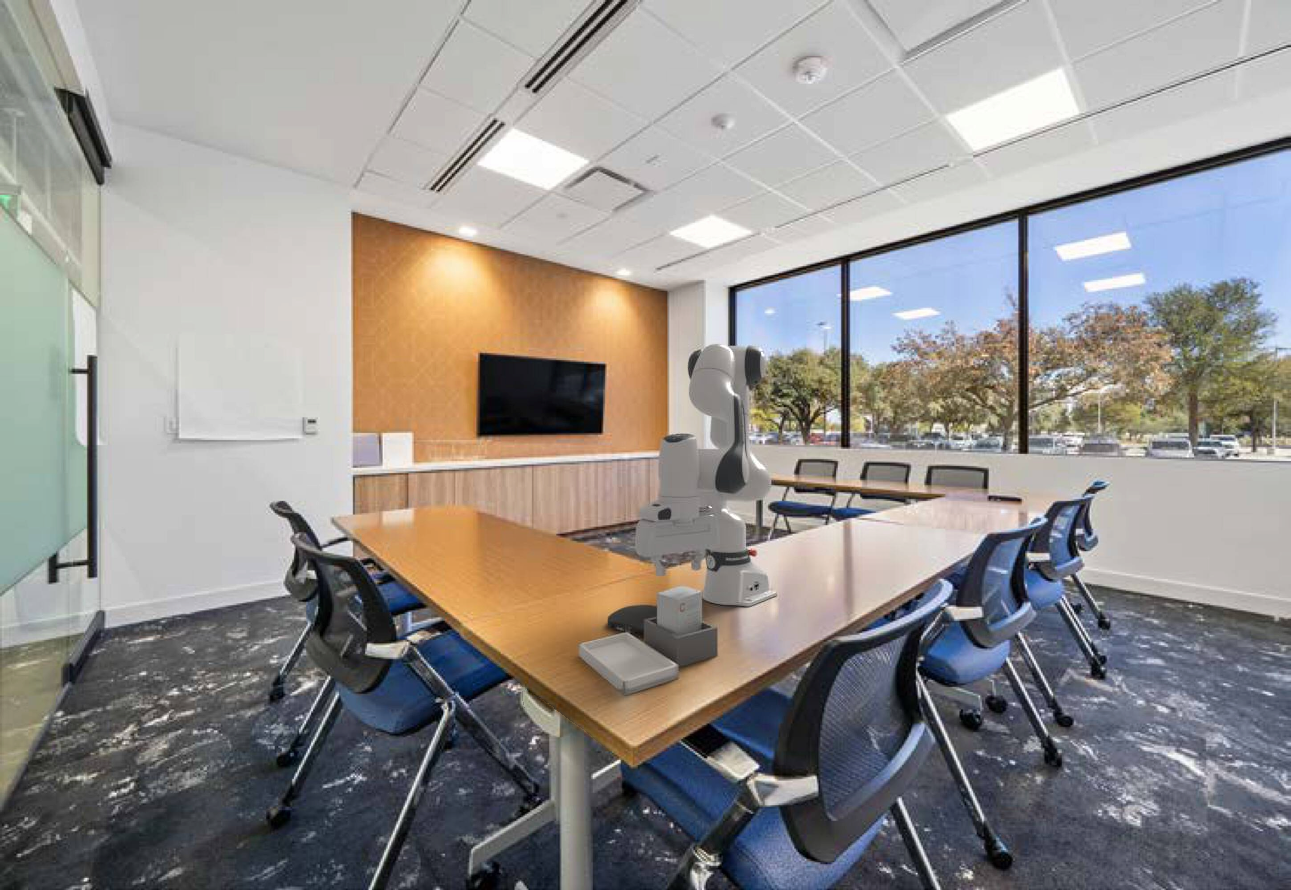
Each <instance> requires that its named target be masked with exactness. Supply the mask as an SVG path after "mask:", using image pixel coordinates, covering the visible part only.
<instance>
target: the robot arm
mask: <svg viewBox="0 0 1291 890" xmlns="http://www.w3.org/2000/svg"><path fill="white" fill-rule="evenodd" d="M767 365H768V363H767V358H766V355H765V352H764V351H763V349H762V348H761V347H759V346H754V345H748V346H745V345H744V346H741V345H724V344H721V343H714V344H713V343H712V344H708V345H707V346H705V347H704V348H701V349H697V350H695V351H693V352H692V353H691V354H690V355H689V357H688V362H687V373H688V377H689V380H690V381H689V387H688V396H689V399H690V402H691V404H692V405H693V407H694V408H695V409H697V410H698V411H699V412H700V413H701V414H704V415H705V416H708V417H710V432H709V433H710V434H709V439H710V441H711V443H712V445H713V446H715V448H711V449H710V448H699V447H698V441H697V437H696V435H694V434H692V433H674V434H669V435H665V436H664V437H663V438H661V442H660V446H659V455H658V465H657V466H658V479H659V490H658V494H657V495H658V499H656V500H655V501H652V502H650V503H648V504H646V505H644V506H642V507H640V508H638V510H637V515H638V516H637V517H638V518H639V519H640V520H639V521H638V522H637V524H636V527H635V539H634V545H635V546H634V549H635V551H636V553H637V554H638V555H639V556H641V557H644V558H650V560H651V563H652V564H653V565H654V567H655V575H656V577H665V576H666V575H667V573H666V571H667V567H665V566H663V565H662V563H661V562H660V561H662V557H663V556H665V555H672V554H673V555H674V554H679V553H687V552H692V551H693V552H694V553H695V557H694V559H693V560H691V561H690V564H691V565H690V568H691V570H693V571H700V570H702V562H703V560H704V557H705V563H706V570H705V571H706V572H705V579H704V584H703V585H704V586H703V590H702V600H704V601H706V602H708V603H712V604H717V605H723V606H739V607H741V606H742V607H751V606H754V605H756V604H759V603H761V602H764V601H766V600H769V599H771V598H774V597H776V596H778V591H777V590H776V589H775V588H773V587H771V586H770V581H769V576H768V574H767V573H766V572H765V570H763V569H762V568H760V567H759V566H758V565H757V564H755V563H754V561H752V559H751V557H754V558H755V557H757V555H758V550H757V549H753V548H749V549H748V548H747V533H746V532H747V525H746V522H745V520H744V519H743V518H742V517H741V516H740V515H739V514H737V513H736V512H734V511H732V509H730V507H729V504H728V502H729V501H730V502H744V503H745V502H746V503H749V502H750V503H751V502H755V501H763V500H764V499H765V498H766V497H767V496H768V495H769V493H770V491H771V488H772V477H771V474H770V472H769V470H768V469H767V467H765V466H764V465H763V464H762V463H761V462H760V461H759V460H758V459H757V458H756V456H755V454H754V453H753V451H752V448H751V443H750V418H751V417H750V416H751V407H750V406H751V405H750V392H749V390H750V391H753V390H754V388H755V386H757V385H758V384H760V383H761V381H762V380H763V379H764V377H765V373H766V371H767Z"/></svg>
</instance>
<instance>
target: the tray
mask: <svg viewBox="0 0 1291 890" xmlns="http://www.w3.org/2000/svg"><path fill="white" fill-rule="evenodd" d="M578 656H579V658H581V659H582V660H583V661H584V662H585V663H587V665H589V666H590V667H591V668H592V669H593V670H594V671H596V672H597V673H598V674H599V675H600V676H601V677H603V678H604V679H605V680H606V681H607V682H609V683H610V684H611V685H612V686H613V687H614V688H615V689H616V690H618V691H619V692H620V693H621V694H622V695H623V696H628V695H631V694H635V693H637V692H641V691H644V690H647V689H650V688H653V687H656V686H659V685H662V684H665V683H668V682H672V681H674V680H678V679H680V671H679V670H680V667H679V665H677V664H676V663H674V662H673V661H671V660H669V659H668V658H666V657H665V656H663V655H662V654H660V653H659V652H657V651H656V650H654V649H652V648H651V647H649V646H648V645H646V644H645V643H644V641H642V640H640V639H638V637H636V636H633V635H631V634H629V633H628V632H625V633H621V632H620V633H618V634H613V635H609V636H606V637H602V638H598V639H593V640H590V641H585V642H581V643H578Z"/></svg>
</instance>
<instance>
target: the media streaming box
mask: <svg viewBox="0 0 1291 890" xmlns="http://www.w3.org/2000/svg"><path fill="white" fill-rule="evenodd" d="M653 617H657V605H652V604H651V605H650V604H636V605H628V606H624V607H622V608H619V609H617V610H616V611H614V612H612V613H611V614H610V615H609V616H607V628H608V629H609V630H611V631H615V632H617V633H620V634H621V633H625V632H628V633H629V634H631V635H632V636H634V637H636V638H642V639H644V620H645V619H649V618H653Z"/></svg>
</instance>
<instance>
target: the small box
mask: <svg viewBox="0 0 1291 890" xmlns="http://www.w3.org/2000/svg"><path fill="white" fill-rule="evenodd" d="M702 593H703V590H702V591H701V590H699V589H695V588H692V587H688V586H684V585H679V586H676V587H673V588H670V589H666V590H662V591H660V592H656V606H657V625H658V626H660V627H662V628H664V629H665V630H667V631H669V632H671V633H672V634H674V635H676V636H681V635H685V634H689V633H693V632H696V631H700V630H702V620H703V604H702V603H703V598H702Z"/></svg>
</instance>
